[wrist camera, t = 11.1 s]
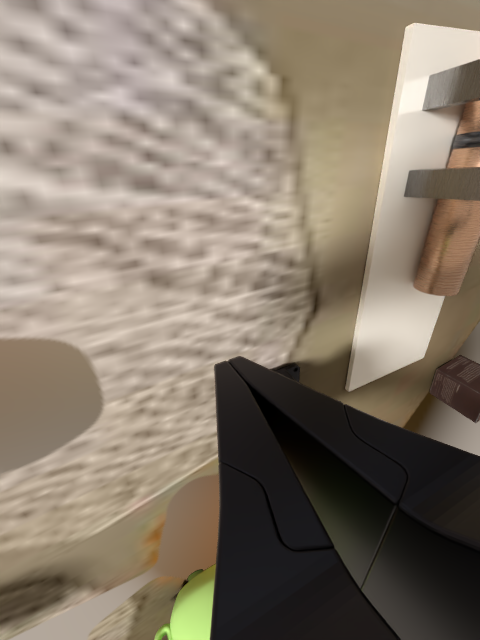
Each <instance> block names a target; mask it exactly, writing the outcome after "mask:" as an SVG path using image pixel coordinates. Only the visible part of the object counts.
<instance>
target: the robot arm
mask: <svg viewBox="0 0 480 640" xmlns="http://www.w3.org/2000/svg"><path fill="white" fill-rule="evenodd" d="M214 371H215V394H216V416H217V438H218V460H219V492H220V493H219V497H220V498H219V499H220V500H219V501H220V502H219V503H220V508H219V528H218V544H217V557H216V568H215V581H214V593H213V605H212V618H211V630H210V640H480V456H478V455H475V454H472V453H469V452H466V451H463V450H461V449H458V448H455V447H453V446H450V445H447V444H444V443H442V442H439V441H436V440H433V439H431V438H428V437H425V436H423V435H420V434H417V433H414V432H412V431H409V430H406V429H404V428H401V427H399V426H396V425H393V424H391V423H388V422H386V421H383V420H381V419H378V418H376V417H374V416H371V415H369V414H367V413H364V412H362V411H360V410H358V409H355V408H353V407H351V406H349V405H347V404H345V405H344V404H343V403H342V402H340V401H338V400H336V399H333V398H331V397H329V396H327V395H325V394H322V393H320V392H318V391H316V390H314V389H311V388H309V387H307V386H305V385H303V384H301V383H299V374H300V367H299V366H298V365H297V364H292V365H289V366H287V367H284V368H282V369H279V370H276V371H272V370H270V369H268V368H266V367H263V366H261V365H259V364H257V363H255V362H252V361H250V360H248V359H246V358H244V357H241V356H238V357H235V358H232V359H229V360H228V361H223V362H220V363H218V364H215V366H214Z"/></svg>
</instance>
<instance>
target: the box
mask: <svg viewBox="0 0 480 640" xmlns="http://www.w3.org/2000/svg"><path fill="white" fill-rule="evenodd" d="M430 394H432V395H434V396H435V397H436V398H438V399H439V400H441V401H443V402H444V403H446V404H447V405H449V406H450V407H452V408H453V409H455V410H457V411H458V412H460V413H461V414H463V415H464V416H465V417H467V418H469V419H471V420H472V421H473V422H475V423H477V422H478V421H479V420H480V364H478V363H476V362H474V361H472V360H470V359H468V358H465V357H463V356H462V355H459V356H458V357H456V358H454V359H453V360H451V361H450V362H448V363H446V364H445V365H443V366H441V367H439V368H437V369H436V372H435V375H434V379H433V382H432V386H431V388H430Z"/></svg>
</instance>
